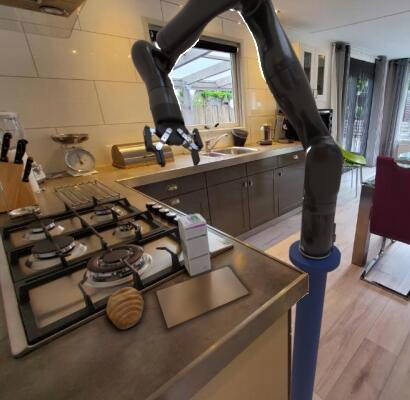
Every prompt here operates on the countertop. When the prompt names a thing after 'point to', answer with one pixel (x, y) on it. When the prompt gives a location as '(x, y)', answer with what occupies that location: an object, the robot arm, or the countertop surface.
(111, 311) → the pastry
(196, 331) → the countertop surface
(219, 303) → the flat rectangular metal plate
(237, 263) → the countertop surface
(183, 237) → the syrup box
